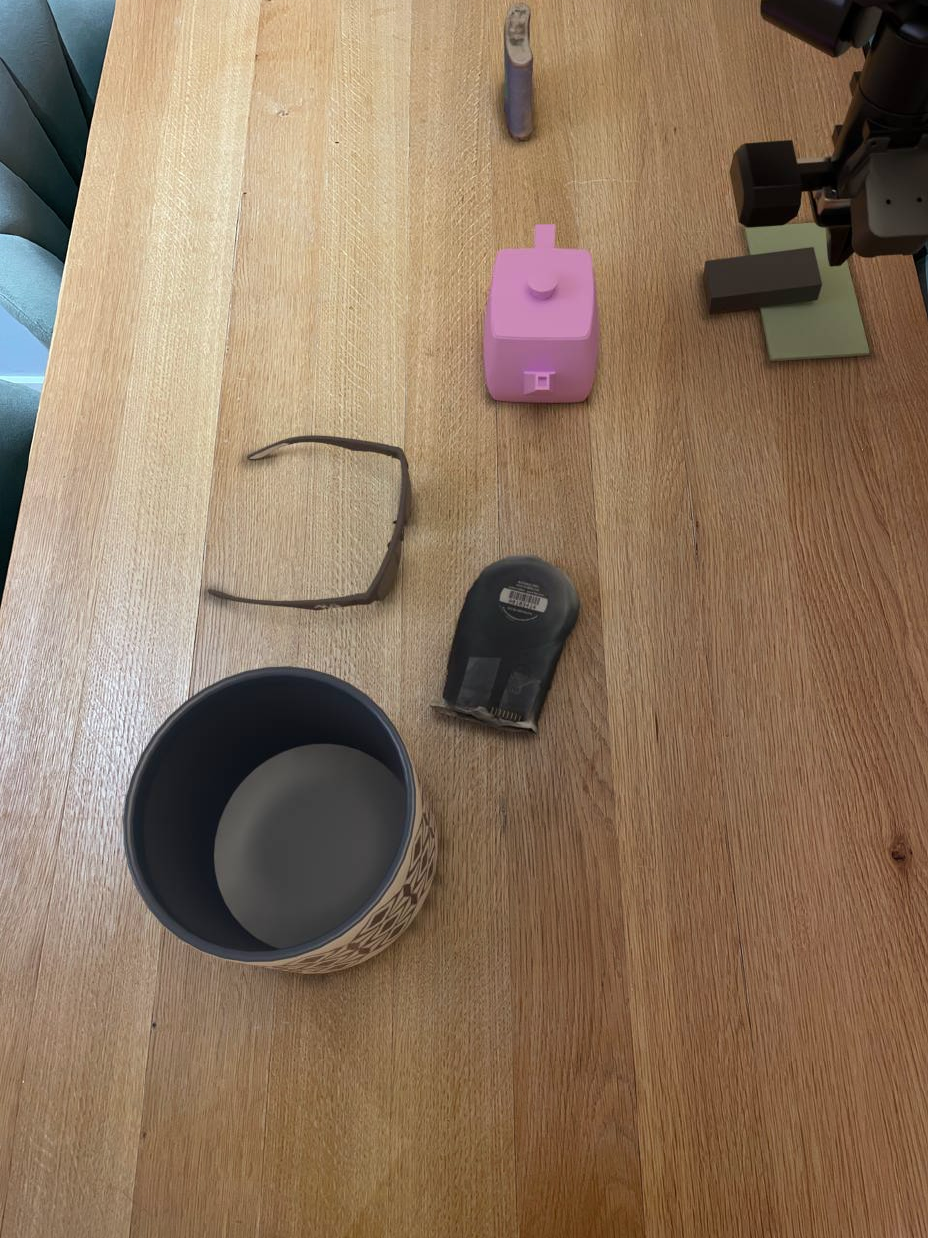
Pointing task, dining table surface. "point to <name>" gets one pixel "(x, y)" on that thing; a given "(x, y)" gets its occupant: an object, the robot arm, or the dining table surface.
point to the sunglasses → (393, 555)
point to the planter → (281, 823)
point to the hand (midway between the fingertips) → (833, 262)
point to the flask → (518, 72)
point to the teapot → (541, 323)
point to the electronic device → (509, 643)
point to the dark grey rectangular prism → (762, 280)
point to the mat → (813, 323)
